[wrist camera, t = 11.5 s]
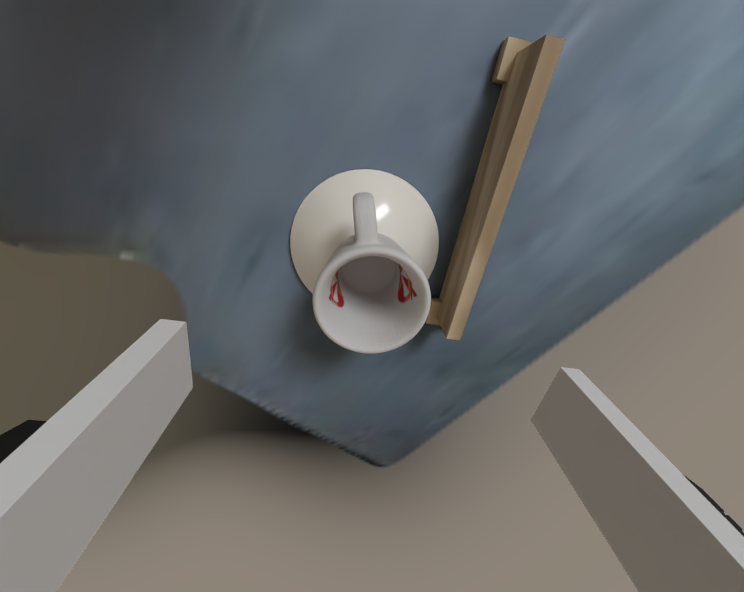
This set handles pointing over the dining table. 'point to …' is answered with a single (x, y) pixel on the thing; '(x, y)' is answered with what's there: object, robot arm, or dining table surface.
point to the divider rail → (496, 173)
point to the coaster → (336, 223)
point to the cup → (370, 289)
